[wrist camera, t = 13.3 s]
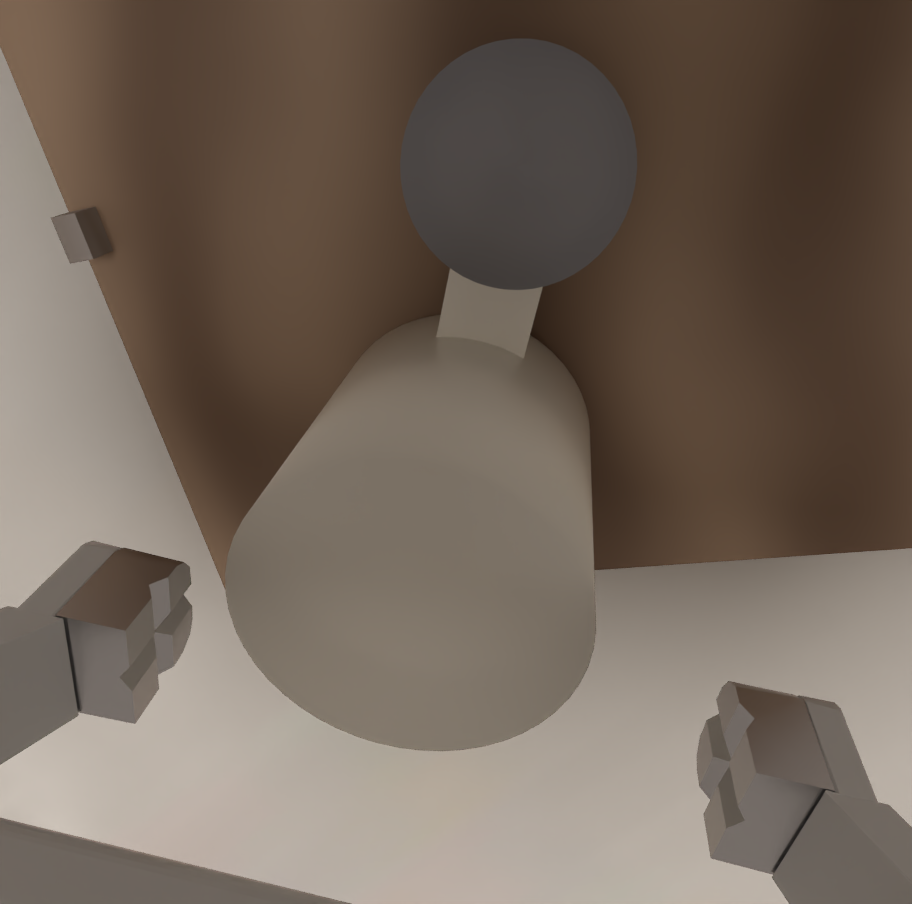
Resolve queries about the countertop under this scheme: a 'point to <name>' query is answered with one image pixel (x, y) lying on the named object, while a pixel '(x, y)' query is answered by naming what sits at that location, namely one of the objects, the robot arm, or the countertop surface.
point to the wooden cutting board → (561, 304)
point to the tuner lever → (453, 437)
